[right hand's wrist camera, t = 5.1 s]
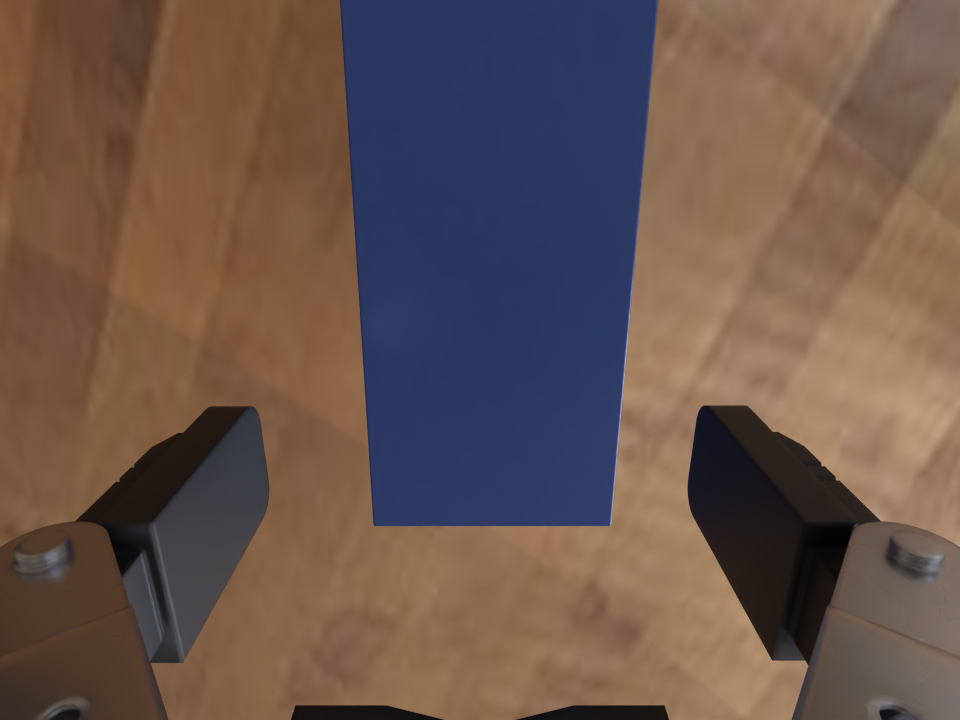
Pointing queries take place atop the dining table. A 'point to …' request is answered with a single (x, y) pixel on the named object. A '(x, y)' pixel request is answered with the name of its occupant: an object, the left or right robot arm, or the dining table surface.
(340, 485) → the dining table surface
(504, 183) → the box
